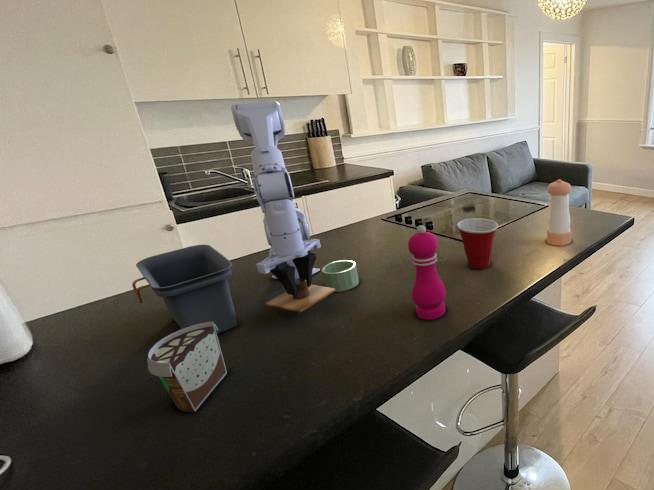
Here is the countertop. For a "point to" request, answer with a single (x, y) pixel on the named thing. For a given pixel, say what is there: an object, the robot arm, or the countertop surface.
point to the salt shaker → (559, 213)
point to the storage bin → (191, 285)
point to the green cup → (340, 275)
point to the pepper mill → (426, 275)
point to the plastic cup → (478, 240)
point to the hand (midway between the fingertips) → (299, 289)
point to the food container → (188, 364)
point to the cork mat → (302, 302)
